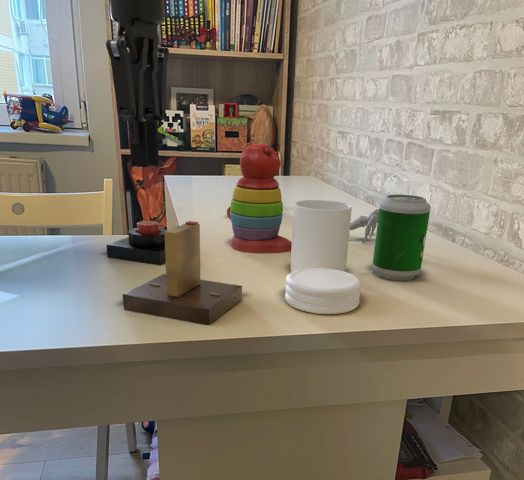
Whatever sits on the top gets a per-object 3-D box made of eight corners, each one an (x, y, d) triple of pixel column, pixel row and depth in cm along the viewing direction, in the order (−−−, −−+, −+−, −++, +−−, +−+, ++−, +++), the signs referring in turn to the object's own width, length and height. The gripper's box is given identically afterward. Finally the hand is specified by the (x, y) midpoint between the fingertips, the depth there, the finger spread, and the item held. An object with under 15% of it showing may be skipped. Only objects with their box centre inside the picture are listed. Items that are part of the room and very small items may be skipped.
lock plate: (123, 309, 70) (122, 292, 69) (164, 287, 79) (163, 272, 78) (208, 325, 67) (208, 308, 66) (242, 300, 75) (242, 284, 74)
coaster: (372, 311, 73) (376, 286, 71) (302, 318, 69) (304, 292, 68) (338, 288, 81) (340, 264, 80) (274, 293, 78) (275, 269, 76)
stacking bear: (297, 250, 100) (303, 145, 93) (250, 257, 95) (253, 146, 88) (263, 237, 108) (266, 140, 101) (218, 243, 103) (218, 141, 96)
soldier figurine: (330, 252, 110) (390, 237, 104) (323, 225, 108) (383, 209, 102) (339, 245, 115) (396, 231, 109) (332, 219, 113) (390, 204, 108)
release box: (107, 257, 92) (105, 233, 90) (140, 244, 100) (139, 222, 99) (160, 265, 88) (159, 241, 87) (190, 251, 97) (189, 228, 95)
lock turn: (178, 297, 69) (176, 230, 66) (166, 295, 70) (164, 229, 66) (200, 284, 74) (199, 221, 71) (189, 282, 75) (188, 220, 71)
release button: (133, 234, 92) (132, 223, 91) (145, 230, 95) (144, 219, 94) (152, 236, 91) (151, 226, 90) (163, 232, 94) (163, 222, 93)
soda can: (416, 284, 84) (429, 203, 79) (367, 278, 86) (376, 199, 81) (421, 271, 91) (433, 196, 86) (375, 265, 93) (384, 191, 88)
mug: (334, 261, 95) (340, 196, 90) (350, 282, 84) (358, 210, 79) (283, 260, 94) (287, 195, 89) (294, 282, 83) (298, 209, 79)
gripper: (128, -21, 71) (138, 172, 81) (186, -1, 84) (189, 162, 94) (79, -19, 73) (95, 168, 83) (143, 0, 86) (150, 159, 96)
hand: (145, 165), depth 88 cm, fingers open, 2 cm apart
